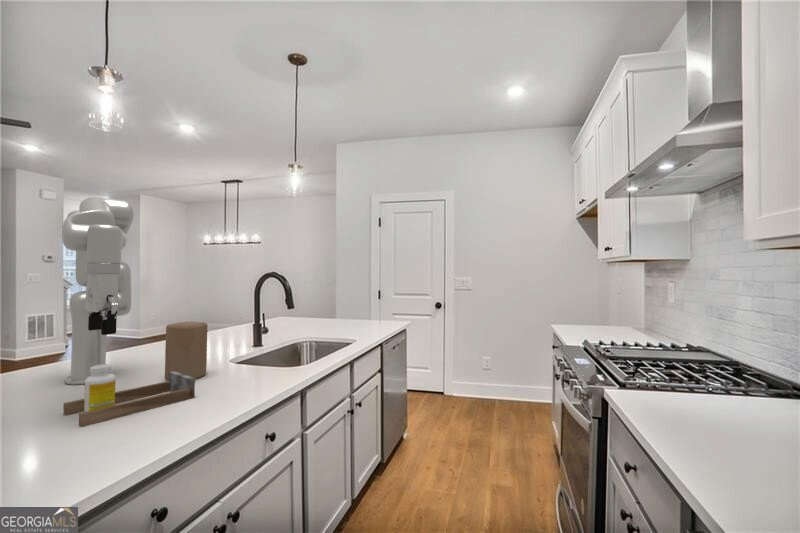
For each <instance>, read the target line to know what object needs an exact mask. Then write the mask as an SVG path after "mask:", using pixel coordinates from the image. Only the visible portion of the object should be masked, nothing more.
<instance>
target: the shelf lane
mask: <svg viewBox="0 0 800 533" xmlns="http://www.w3.org/2000/svg"><path fill="white" fill-rule="evenodd" d="M195 387H196V379H195V378H193V377H190V376H187V375H184V374H181V373H178V372H175V371H171V372H169V375H168V380H166V381H163V382H156V383H153V384H149V385H143V386H137V387H134V388H129V389H124V390H120V391H115V405H114V406H109V407H105V408H101V409H97V410H92V411H88V412H84V398H82V399H77V400H72V401H67V402H64V403H63V409H62V410H63V414H62V415H63V416H68V415H74V414H78V426H79V427H80V428H83V427H87V426H90V424H91V425H93V424H98V423H102V422H106V421H109V419H110V420H114V419H116V418H117V417H118V418H121V416H122V417H125V416H129V415H133V414H136V413H141V412H144V411H148V410H152V409H156V408H159V407H163V406H167V405H171V404H175V403H179V402H183V401H186V400H190V399H194V398H195V394H196V393H195V392H196V390H195V389H196V388H195ZM113 418H114V419H113ZM118 418H117V419H118ZM105 420H106V421H105ZM101 421H102V422H101ZM86 425H87V426H86Z"/></svg>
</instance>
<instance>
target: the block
mask: <svg viewBox="0 0 800 533" xmlns="http://www.w3.org/2000/svg"><path fill="white" fill-rule="evenodd" d="M164 348H165V351H164V352H165V355H164V357H165V358H164V359H165V360H164V379H165V380H166V381H168V375H169V372H171V371H175V372H178V373H181V374H184V375H187V376H190V377H193V378H195V380H196V379H199V378H201V377H204V376H206V374H207V363H208V362H207V361H208V360H207V359H208V358H207V357H208V323H207V322H205V321H204V322H201V321H182V322H181V321H180V322H176V323H169V324H167V325H166V326H165V347H164Z"/></svg>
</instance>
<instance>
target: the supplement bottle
mask: <svg viewBox="0 0 800 533" xmlns="http://www.w3.org/2000/svg"><path fill="white" fill-rule="evenodd" d="M111 371H112V364H106V365H96V366H92V367H90V373H91V376H89V377H88V378H87V379H86V380H85V384H84V398H83V399H84V411H83V413H84V412H88V411H92V410H97V409H101V408H105V407H109V406H114V405H116V404H115V392H116V379H117V378H116V375H115V374H114V373H111Z"/></svg>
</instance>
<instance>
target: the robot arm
mask: <svg viewBox="0 0 800 533" xmlns="http://www.w3.org/2000/svg"><path fill="white" fill-rule="evenodd" d="M78 209H79V210H77V209H76V210H72V211H70V212H68V214H67V216H66V218H65V219H64V221H63V223H62V227H61V238H62V244H63V246H64V247H65V248H66V249H68V250H69V251H74V252H75V281H76V283H77V285H79V286H81V287H85V290H82V291H81V290H80V291H78V292H75V293H73V294H72V295H71V296H70V298H69V310H70V316H71V317H70V318H71V352H70V355H71V356H70V358H71V359H70V360H71V361H70V376H68V377H66V378H65V379H64V383H65V384H67V385H85V380H86V379H87V378H88V377H89V376H91V373H90V367H92V366H96V365H107V364H106V362H107V358H106V357H107V335H115V334H117V320H118V319H117V318H118V317H121V316H127V315H128V314H129V313H130V312H131V310H132V274H131V273H132V272H131V268H130V266H129V264H128V263H127V262H125V261H122V250H123V249H124V247H126V244H127V243H126V242H127V236H126V235H127V234H128V233H129V231H130V228H131V226H132V223H133V220H134V209H133V206H132V205H131V203H130V202H128V201H127V200H123V199H115V198H106V197H101V196H100V197H97V196H96V197H95V196H94V197H88V198H85V199H83V200H82V201H81V202H80V203H79V208H78Z"/></svg>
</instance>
